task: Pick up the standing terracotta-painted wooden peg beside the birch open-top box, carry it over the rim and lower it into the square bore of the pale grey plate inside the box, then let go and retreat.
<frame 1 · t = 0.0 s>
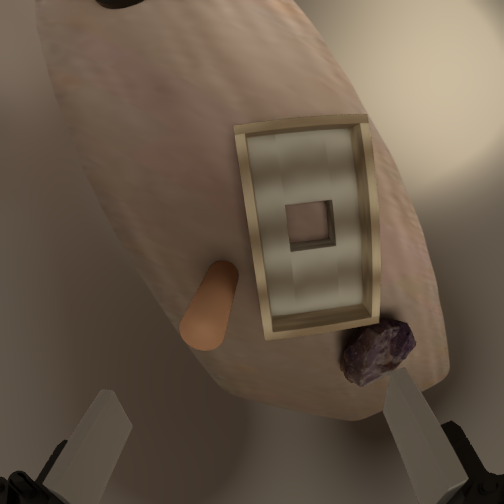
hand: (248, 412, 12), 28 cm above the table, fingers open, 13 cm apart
peg: (223, 275, 40), on the table
rock: (364, 334, 42), on the table
box: (306, 220, 37), on the table
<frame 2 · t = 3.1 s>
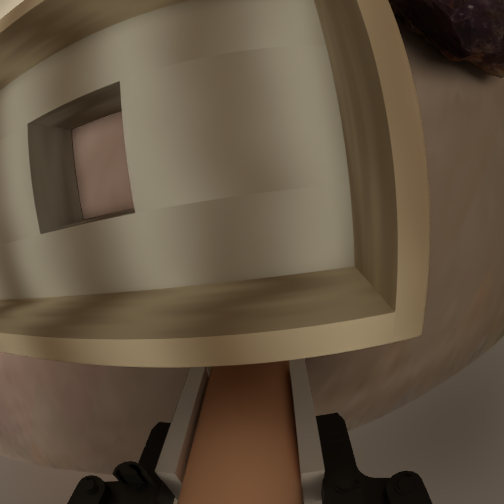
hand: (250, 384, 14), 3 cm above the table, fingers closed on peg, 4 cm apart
peg: (252, 350, 17), on the table, touching gripper
rock: (416, 13, 11), on the table
box: (113, 161, 14), on the table
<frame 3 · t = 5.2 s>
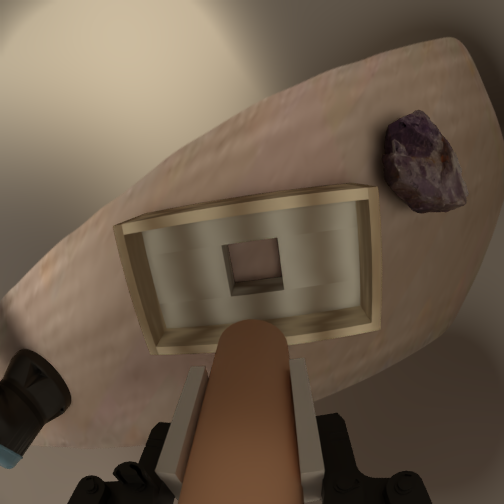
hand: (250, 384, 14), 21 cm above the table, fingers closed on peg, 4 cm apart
peg: (252, 349, 17), point 17 cm above the table, touching gripper
rock: (405, 169, 30), on the table
box: (254, 257, 33), on the table
when the fingers open (5 cm above the table, at t = 7.8 s): peg drops 2 cm, resting in box.
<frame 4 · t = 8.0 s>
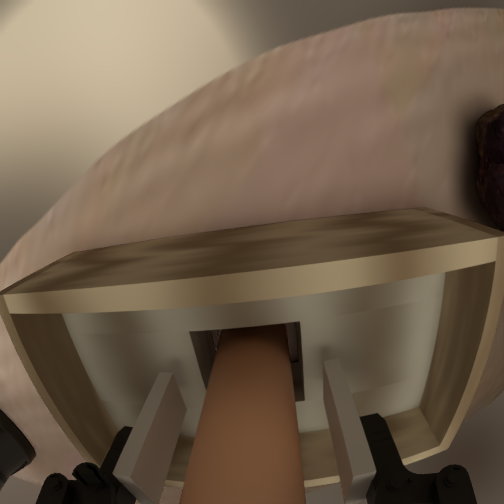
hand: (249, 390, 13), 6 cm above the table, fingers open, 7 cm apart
peg: (254, 333, 19), resting in box
rock: (495, 187, 15), on the table
box: (253, 333, 19), on the table
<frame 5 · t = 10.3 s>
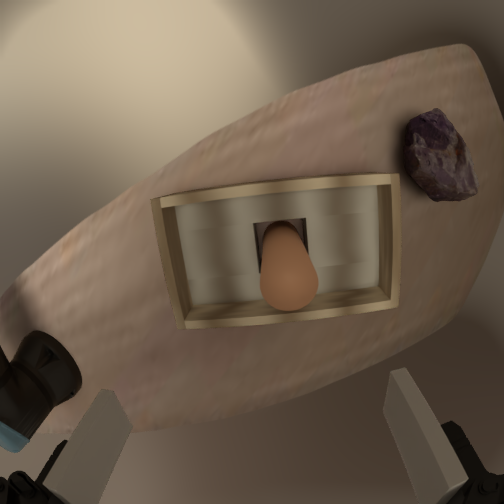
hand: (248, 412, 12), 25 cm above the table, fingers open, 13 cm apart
peg: (280, 237, 35), resting in box
rock: (421, 162, 31), on the table
box: (280, 237, 35), on the table
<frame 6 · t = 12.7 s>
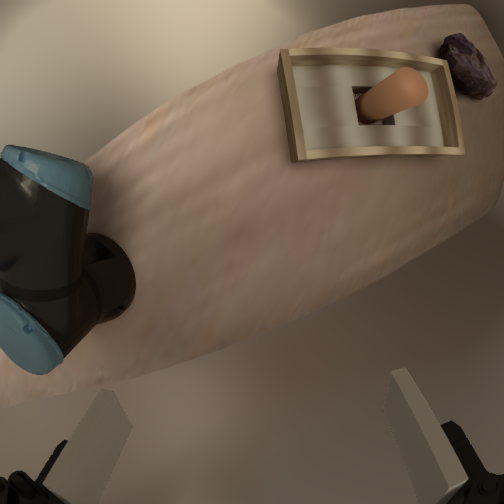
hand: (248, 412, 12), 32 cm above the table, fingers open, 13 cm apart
peg: (364, 110, 36), resting in box
rock: (453, 74, 33), on the table
box: (364, 110, 36), on the table
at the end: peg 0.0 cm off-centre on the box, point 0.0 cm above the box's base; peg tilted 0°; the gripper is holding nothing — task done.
